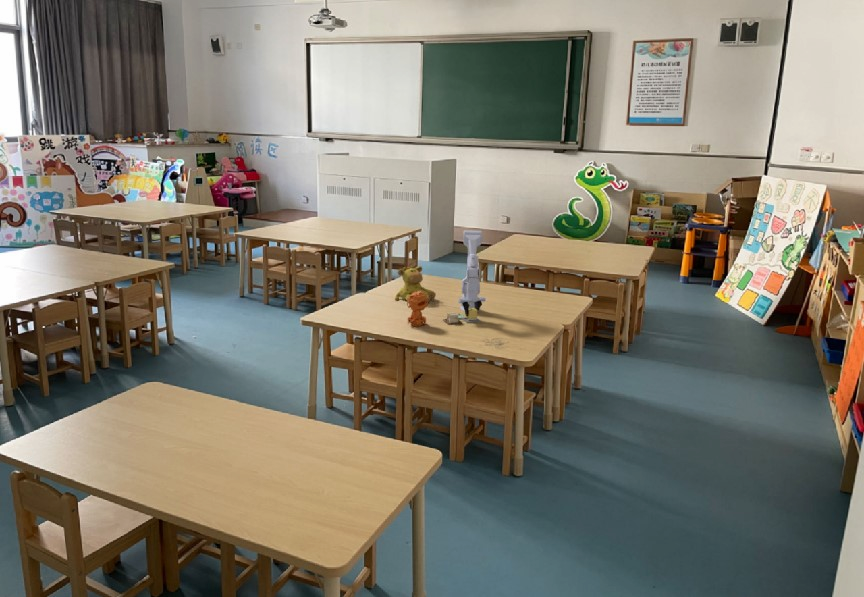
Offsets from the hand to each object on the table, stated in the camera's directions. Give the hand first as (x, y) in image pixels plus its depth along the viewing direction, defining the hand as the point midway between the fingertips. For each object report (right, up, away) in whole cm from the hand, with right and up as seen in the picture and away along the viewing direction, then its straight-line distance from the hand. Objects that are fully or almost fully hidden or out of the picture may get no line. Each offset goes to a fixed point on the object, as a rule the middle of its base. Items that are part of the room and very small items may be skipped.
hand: (471, 315), depth 347 cm
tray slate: (0, -3, +1) cm, 3 cm away
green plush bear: (-30, +8, +39) cm, 50 cm away
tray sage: (-8, -1, +6) cm, 10 cm away
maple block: (-10, -3, -3) cm, 11 cm away
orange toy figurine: (-28, -5, -8) cm, 29 cm away
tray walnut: (-10, -4, -3) cm, 11 cm away
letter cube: (0, -1, 0) cm, 1 cm away
